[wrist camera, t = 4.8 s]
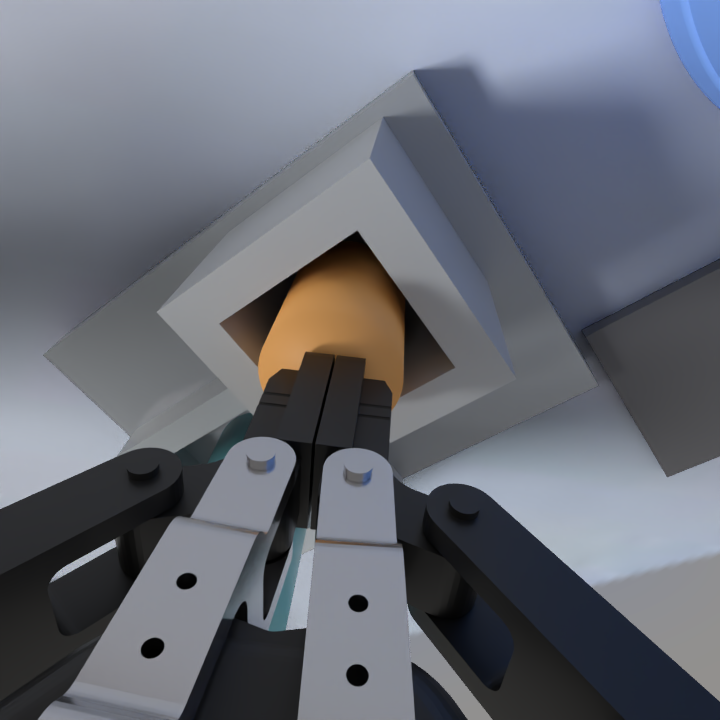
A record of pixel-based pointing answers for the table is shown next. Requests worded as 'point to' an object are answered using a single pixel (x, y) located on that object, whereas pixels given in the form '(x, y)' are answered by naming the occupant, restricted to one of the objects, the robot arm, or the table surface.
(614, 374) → the mat
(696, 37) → the water jug
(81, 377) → the housing
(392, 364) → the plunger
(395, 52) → the table surface
